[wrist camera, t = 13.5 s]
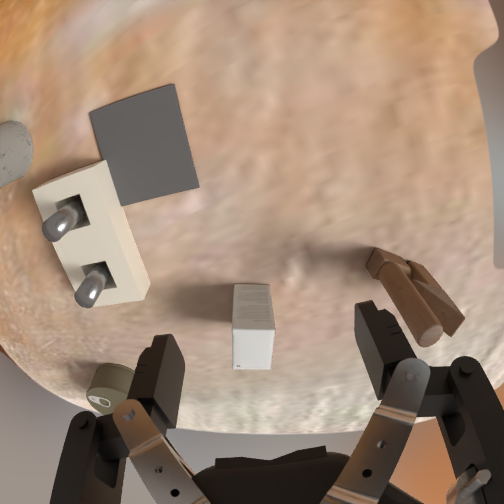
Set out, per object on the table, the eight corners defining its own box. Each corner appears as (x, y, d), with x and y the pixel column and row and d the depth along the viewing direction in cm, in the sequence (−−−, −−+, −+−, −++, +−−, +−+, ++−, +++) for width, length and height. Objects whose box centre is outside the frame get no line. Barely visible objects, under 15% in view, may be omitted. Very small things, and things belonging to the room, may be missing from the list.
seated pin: (97, 254, 45) (70, 291, 36) (113, 251, 45) (88, 288, 36) (104, 270, 47) (80, 309, 38) (120, 267, 46) (97, 307, 38)
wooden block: (413, 282, 49) (463, 356, 33) (364, 265, 47) (410, 346, 31) (424, 265, 48) (479, 335, 32) (375, 246, 46) (429, 322, 30)
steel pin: (74, 195, 40) (38, 222, 32) (90, 190, 40) (55, 216, 31) (81, 214, 42) (47, 244, 33) (97, 209, 42) (65, 239, 33)
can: (146, 402, 63) (141, 426, 57) (97, 388, 61) (88, 411, 55) (149, 371, 58) (142, 398, 52) (94, 355, 56) (83, 380, 50)
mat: (91, 112, 35) (89, 112, 35) (174, 83, 34) (173, 83, 34) (118, 206, 42) (118, 207, 41) (199, 186, 41) (199, 187, 40)
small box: (267, 323, 52) (271, 371, 43) (233, 322, 52) (231, 370, 42) (270, 283, 48) (276, 329, 39) (233, 282, 48) (231, 329, 39)
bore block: (48, 180, 39) (31, 190, 35) (107, 158, 38) (93, 166, 34) (94, 292, 48) (84, 308, 44) (150, 282, 48) (143, 299, 44)
